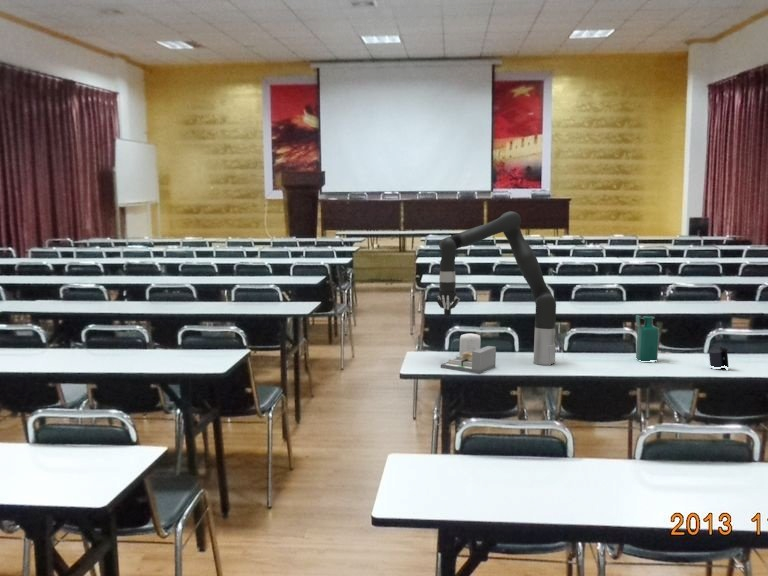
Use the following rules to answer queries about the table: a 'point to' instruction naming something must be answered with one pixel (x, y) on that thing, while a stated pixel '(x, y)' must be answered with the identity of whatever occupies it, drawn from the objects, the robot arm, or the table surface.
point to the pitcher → (647, 339)
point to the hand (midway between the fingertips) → (447, 317)
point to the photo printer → (469, 343)
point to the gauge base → (474, 361)
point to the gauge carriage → (466, 357)
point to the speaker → (718, 357)
